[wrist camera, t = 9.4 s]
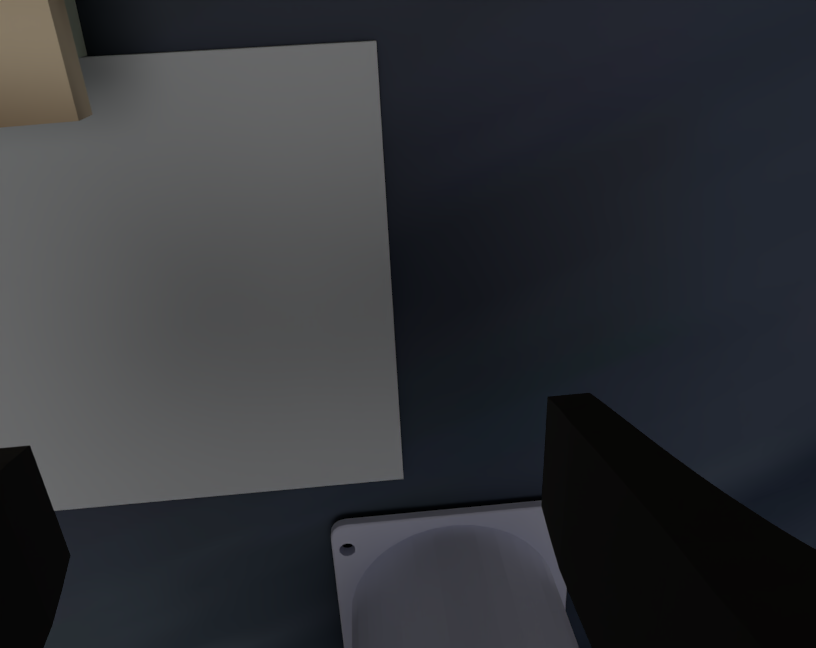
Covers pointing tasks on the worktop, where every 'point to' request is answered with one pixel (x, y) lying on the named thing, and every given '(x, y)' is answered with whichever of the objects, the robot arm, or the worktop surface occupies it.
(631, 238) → the worktop surface
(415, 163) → the worktop surface
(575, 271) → the worktop surface
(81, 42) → the tray
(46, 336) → the mat
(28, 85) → the lid
